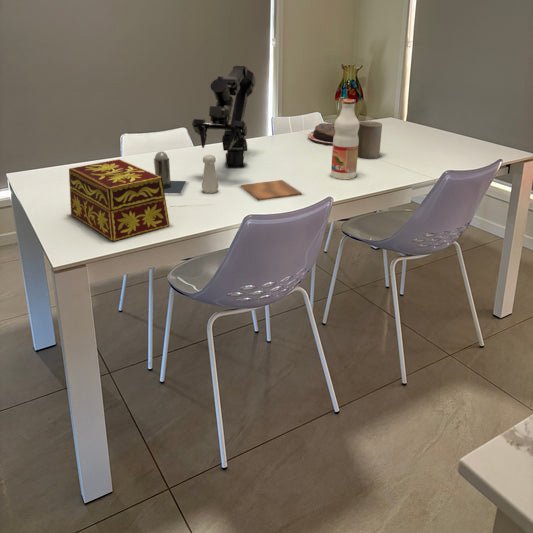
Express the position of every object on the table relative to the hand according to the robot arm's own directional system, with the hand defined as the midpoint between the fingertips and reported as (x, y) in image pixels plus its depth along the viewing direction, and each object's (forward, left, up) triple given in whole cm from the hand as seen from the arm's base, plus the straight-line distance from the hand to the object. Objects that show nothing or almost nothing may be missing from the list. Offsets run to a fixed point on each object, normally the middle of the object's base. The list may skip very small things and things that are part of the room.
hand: (215, 148), depth 204 cm
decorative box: (+32, +31, -14) cm, 46 cm away
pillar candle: (-66, -33, -14) cm, 75 cm away
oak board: (-18, +8, -14) cm, 24 cm away
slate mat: (+19, +1, -14) cm, 23 cm away
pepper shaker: (+19, +1, -13) cm, 23 cm away
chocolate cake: (-61, -64, -14) cm, 90 cm away
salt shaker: (+3, +8, -14) cm, 16 cm away
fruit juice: (-48, -6, -14) cm, 51 cm away
